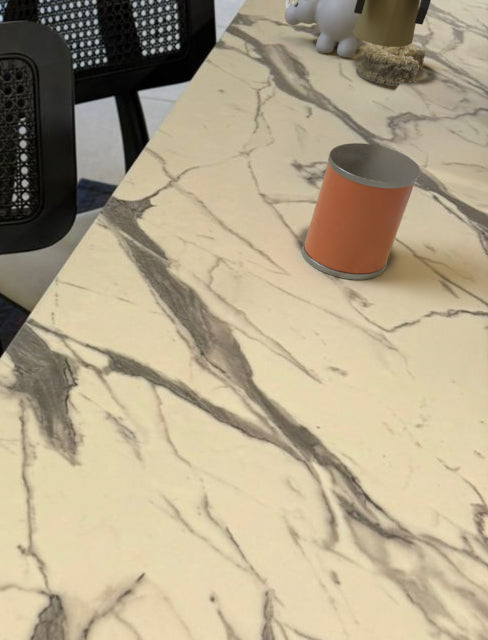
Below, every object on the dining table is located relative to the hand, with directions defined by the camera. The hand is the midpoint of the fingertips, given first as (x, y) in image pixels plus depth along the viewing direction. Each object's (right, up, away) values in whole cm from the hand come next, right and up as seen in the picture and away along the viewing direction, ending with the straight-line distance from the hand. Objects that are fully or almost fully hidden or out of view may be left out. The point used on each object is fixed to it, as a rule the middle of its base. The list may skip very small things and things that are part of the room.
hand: (390, 10), depth 99 cm
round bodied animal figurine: (+7, +17, +48) cm, 51 cm away
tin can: (-4, -24, +2) cm, 24 cm away
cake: (+15, +9, +41) cm, 44 cm away
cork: (+1, 0, +5) cm, 5 cm away
